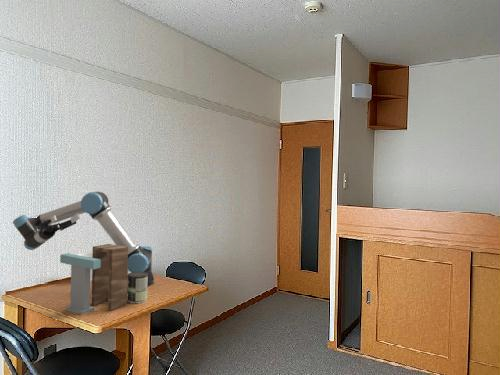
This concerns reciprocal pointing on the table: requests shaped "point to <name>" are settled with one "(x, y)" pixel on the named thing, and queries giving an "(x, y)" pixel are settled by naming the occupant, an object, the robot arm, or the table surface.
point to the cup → (90, 257)
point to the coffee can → (137, 287)
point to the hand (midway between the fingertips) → (67, 216)
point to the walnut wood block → (110, 276)
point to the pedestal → (80, 290)
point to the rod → (80, 261)
